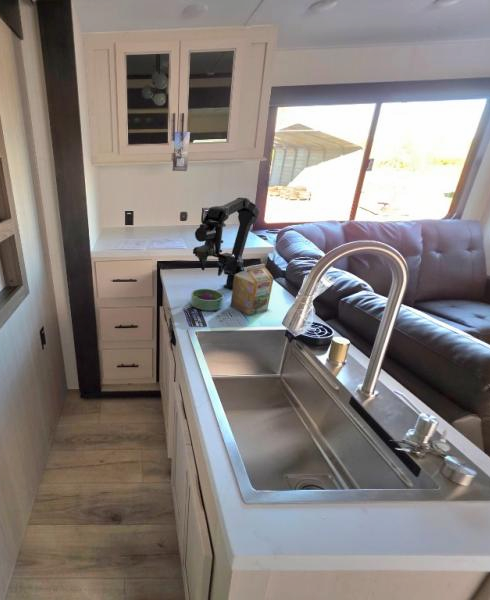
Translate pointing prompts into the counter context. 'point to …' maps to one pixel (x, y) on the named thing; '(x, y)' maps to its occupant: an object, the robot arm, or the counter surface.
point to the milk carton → (252, 290)
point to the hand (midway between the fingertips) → (210, 272)
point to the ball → (206, 296)
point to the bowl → (206, 304)
